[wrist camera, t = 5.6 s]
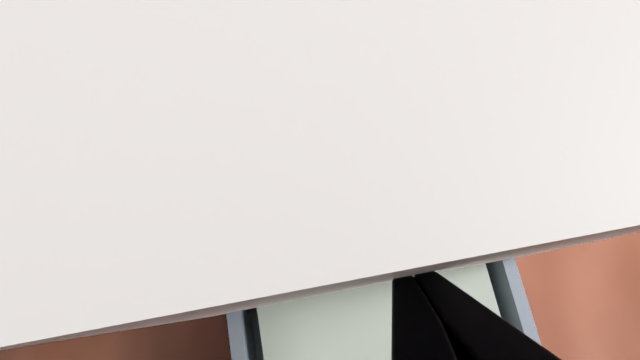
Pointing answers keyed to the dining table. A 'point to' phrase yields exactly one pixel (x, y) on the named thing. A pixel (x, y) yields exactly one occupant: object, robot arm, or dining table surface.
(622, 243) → the dining table surface
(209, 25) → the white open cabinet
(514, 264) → the tray
